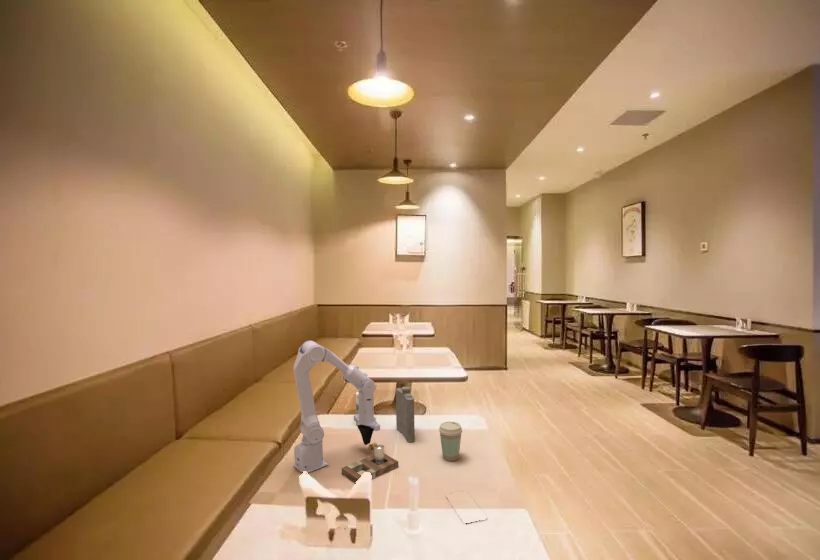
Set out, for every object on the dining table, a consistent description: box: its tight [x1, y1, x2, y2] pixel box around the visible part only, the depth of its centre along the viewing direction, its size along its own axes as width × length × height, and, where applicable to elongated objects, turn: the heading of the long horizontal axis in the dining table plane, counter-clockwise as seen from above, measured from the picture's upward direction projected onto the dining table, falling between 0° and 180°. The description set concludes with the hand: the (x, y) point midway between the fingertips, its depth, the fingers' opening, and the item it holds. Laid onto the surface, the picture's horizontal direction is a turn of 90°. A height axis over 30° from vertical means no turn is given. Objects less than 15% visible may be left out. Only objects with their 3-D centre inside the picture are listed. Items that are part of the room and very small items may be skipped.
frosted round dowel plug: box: [373, 444, 385, 465], centre depth 144 cm, size 3×3×7 cm
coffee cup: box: [438, 421, 463, 462], centre depth 149 cm, size 8×8×12 cm
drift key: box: [368, 442, 378, 453], centre depth 151 cm, size 3×5×2 cm, turn 42°
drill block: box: [341, 453, 399, 484], centre depth 141 cm, size 17×10×2 cm, turn 132°
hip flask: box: [395, 386, 416, 444], centre depth 169 cm, size 16×4×20 cm, turn 21°
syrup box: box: [355, 389, 360, 426], centre depth 181 cm, size 6×6×14 cm
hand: (366, 443), depth 155 cm, fingers closed
